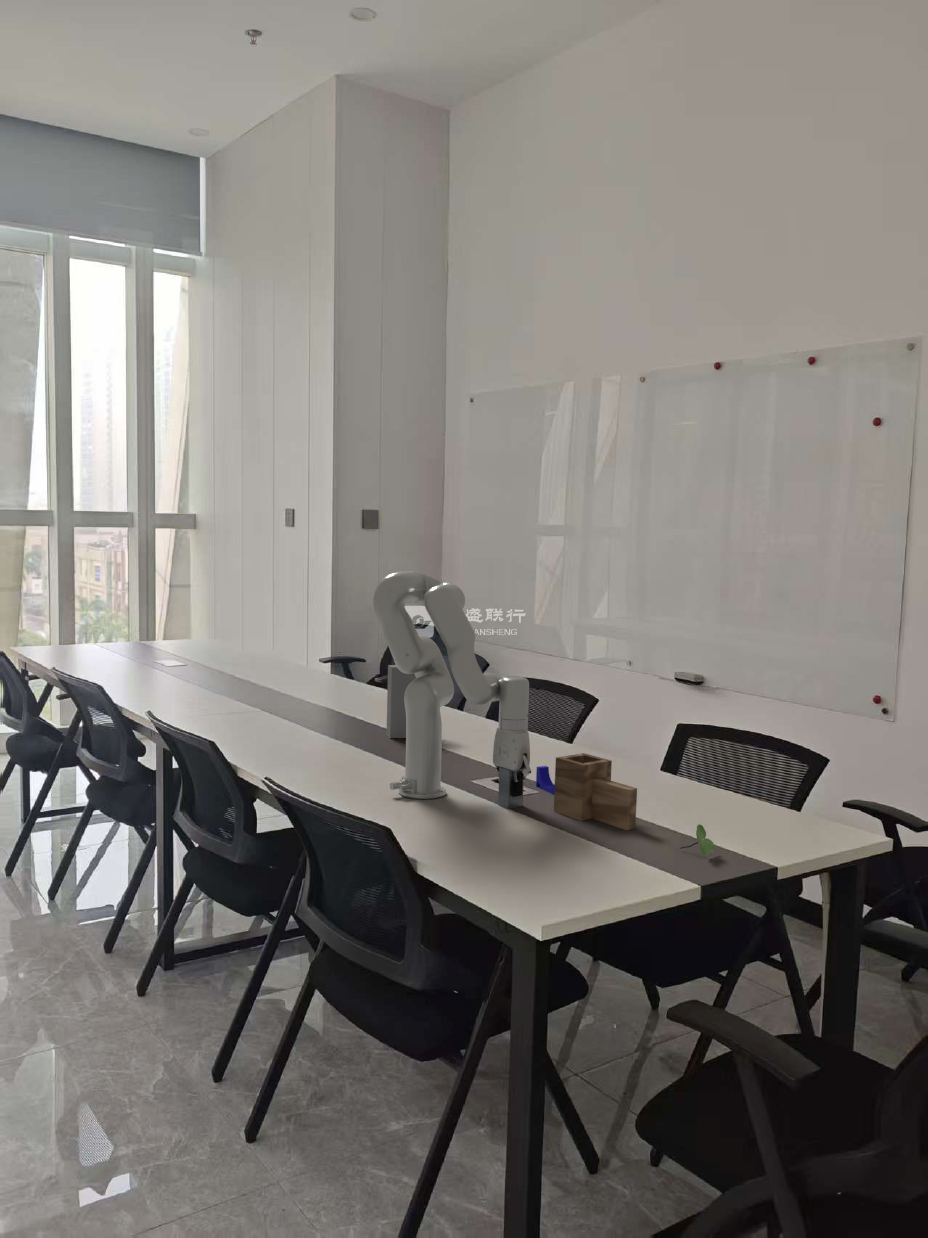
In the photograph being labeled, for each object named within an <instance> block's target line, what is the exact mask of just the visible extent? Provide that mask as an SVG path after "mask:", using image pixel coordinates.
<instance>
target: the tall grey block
mask: <svg viewBox="0 0 928 1238" xmlns="http://www.w3.org/2000/svg"><path fill="white" fill-rule="evenodd" d="M414 679H416V676H415V674H405V673H403V672H401V671H400V670H399V669H398V668H397V666H396V664H392V665H391V664H388V665H387V693H386V694H387V696H386V698H387V699H386V731H385V732H386V734H385V736H386V735H387V736H389V738H406V710H405V702H404V696H405V691H406V688H407V686H408V685H409V684H410V683H411V682H412V681H413V680H414ZM387 736H386V737H387ZM389 738H388V739H389Z"/></svg>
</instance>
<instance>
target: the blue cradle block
mask: <svg viewBox="0 0 928 1238" xmlns="http://www.w3.org/2000/svg"><path fill="white" fill-rule="evenodd" d="M549 770H550V769H549V766H547V765H541V766H536V776H535V777H536V778H535V787H536V788H539V789H541V790H543V791H545V792H547V793H550V795H553V796H554V790H555V783H553V780H552V779H551V776H550V771H549Z"/></svg>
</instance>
